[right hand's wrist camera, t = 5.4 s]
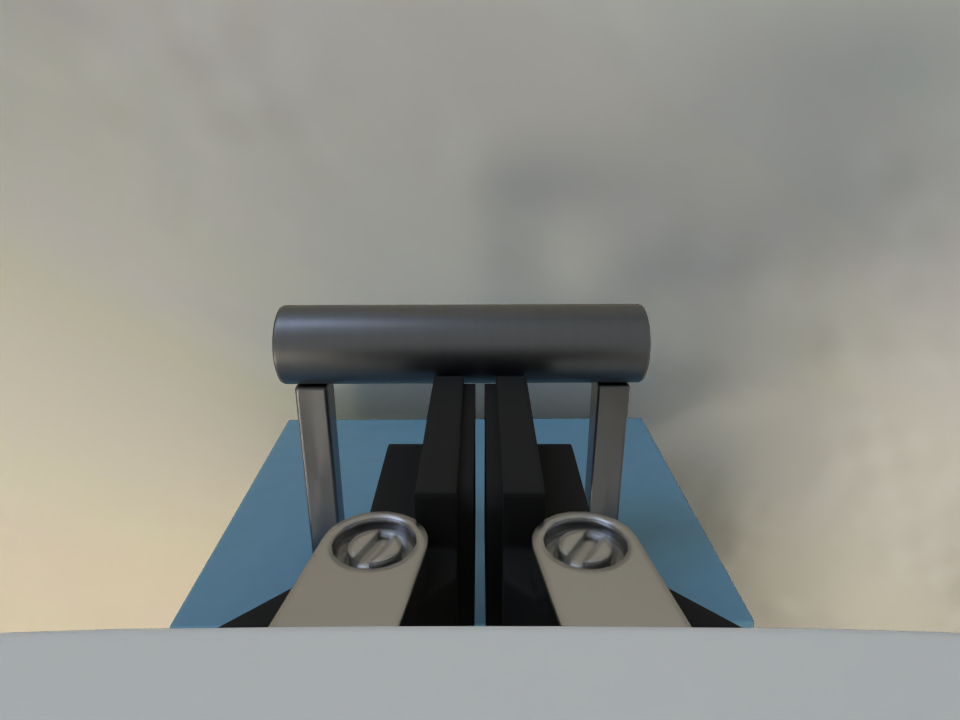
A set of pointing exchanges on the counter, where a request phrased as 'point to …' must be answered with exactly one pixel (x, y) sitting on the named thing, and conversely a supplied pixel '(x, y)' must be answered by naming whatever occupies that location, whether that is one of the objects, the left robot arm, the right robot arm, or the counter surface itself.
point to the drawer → (479, 358)
